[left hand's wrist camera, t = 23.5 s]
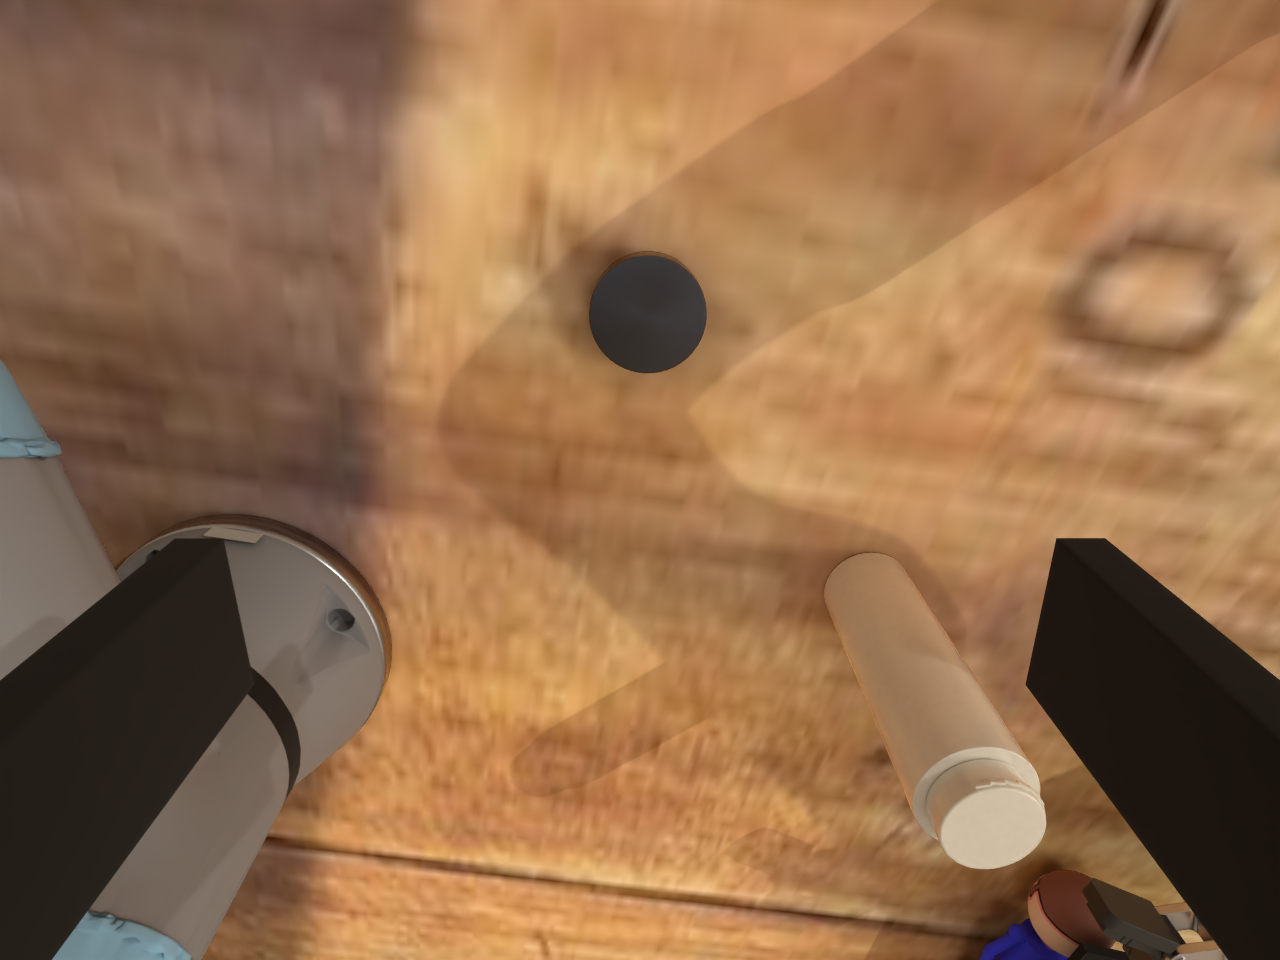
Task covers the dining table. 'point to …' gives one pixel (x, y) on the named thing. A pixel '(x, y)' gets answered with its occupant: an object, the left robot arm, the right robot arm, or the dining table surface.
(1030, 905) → the figurine character
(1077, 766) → the dining table surface
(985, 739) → the cream cylindrical bottle
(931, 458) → the dining table surface
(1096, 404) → the dining table surface
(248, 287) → the dining table surface
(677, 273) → the lid
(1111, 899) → the right robot arm
